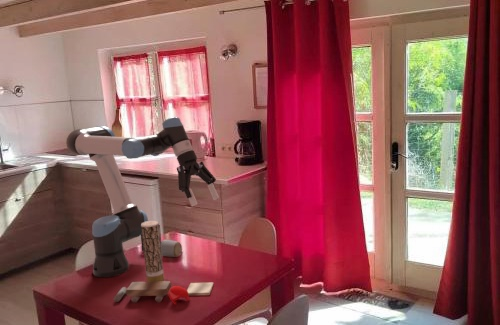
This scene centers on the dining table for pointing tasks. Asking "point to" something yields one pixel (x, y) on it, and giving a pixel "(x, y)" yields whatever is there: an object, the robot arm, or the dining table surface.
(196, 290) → the coaster
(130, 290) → the brown toy skateboard
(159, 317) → the dining table surface
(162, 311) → the dining table surface
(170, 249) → the ceramic mug
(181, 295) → the red rounded piece
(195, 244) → the dining table surface
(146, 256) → the bark-patterned canister
